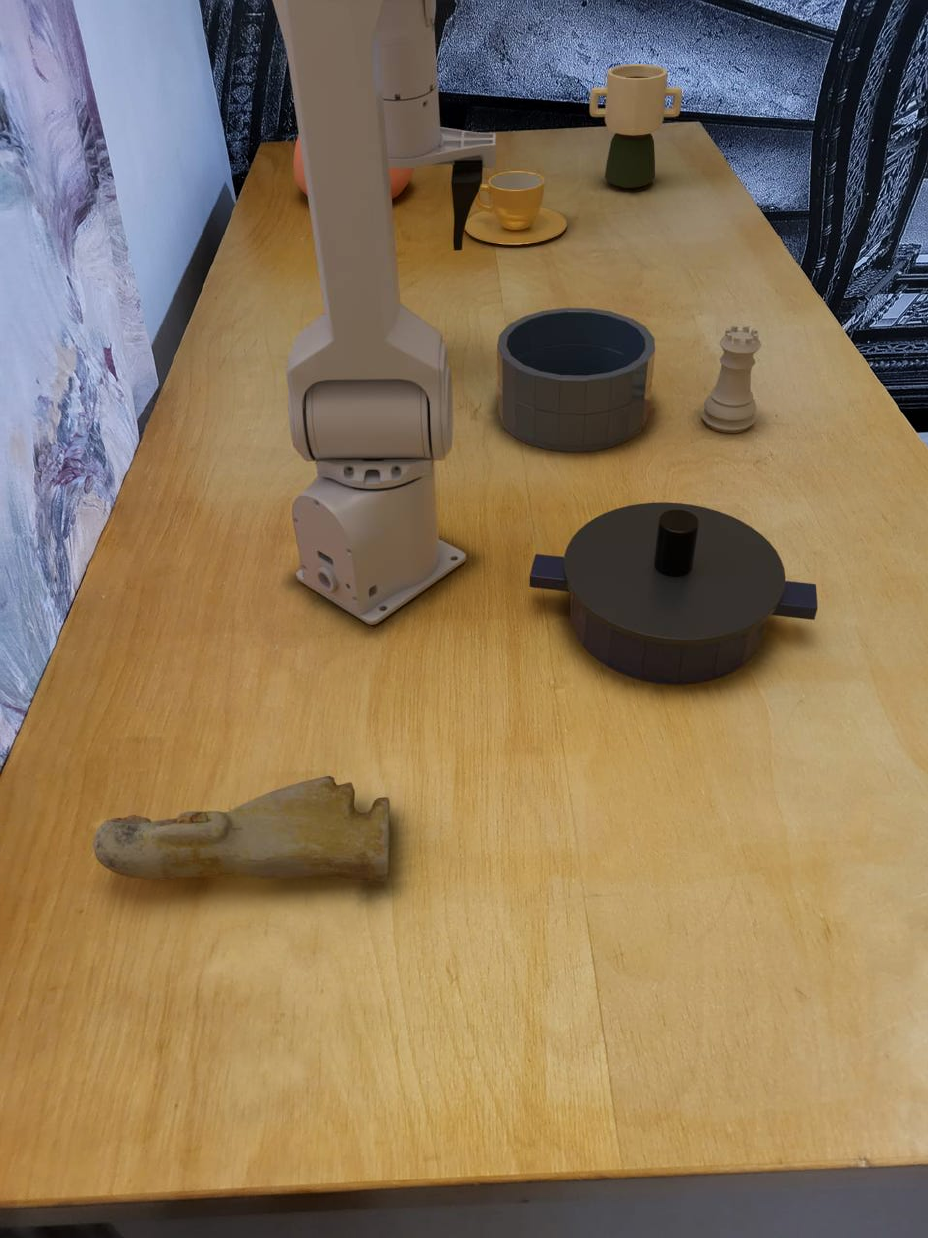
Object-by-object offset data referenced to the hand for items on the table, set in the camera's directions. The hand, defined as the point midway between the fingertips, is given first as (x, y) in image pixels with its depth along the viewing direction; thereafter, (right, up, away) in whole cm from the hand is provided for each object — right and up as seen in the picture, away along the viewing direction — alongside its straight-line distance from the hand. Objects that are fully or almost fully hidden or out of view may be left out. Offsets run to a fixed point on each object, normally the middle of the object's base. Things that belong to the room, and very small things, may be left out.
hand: (414, 244), depth 88 cm
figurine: (-7, -46, -34) cm, 58 cm away
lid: (+18, -30, -24) cm, 42 cm away
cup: (+10, +13, +30) cm, 34 cm away
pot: (+14, -15, -2) cm, 20 cm away
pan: (+18, -33, -22) cm, 43 cm away
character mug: (+25, +22, +40) cm, 52 cm away
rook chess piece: (+27, -16, -3) cm, 31 cm away
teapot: (-10, +22, +41) cm, 48 cm away
